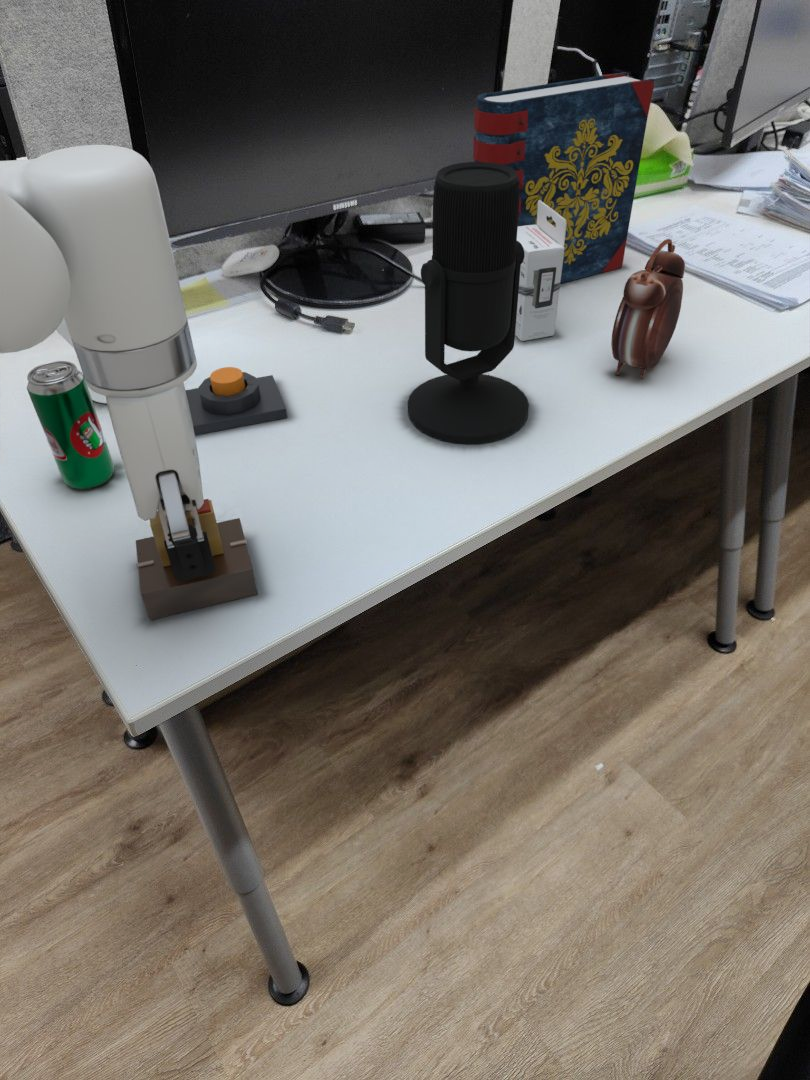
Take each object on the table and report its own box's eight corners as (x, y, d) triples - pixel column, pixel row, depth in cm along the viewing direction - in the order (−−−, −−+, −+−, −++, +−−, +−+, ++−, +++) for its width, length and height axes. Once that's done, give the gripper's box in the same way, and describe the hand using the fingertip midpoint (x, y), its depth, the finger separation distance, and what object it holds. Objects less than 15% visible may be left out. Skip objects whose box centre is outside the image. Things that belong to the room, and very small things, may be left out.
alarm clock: (636, 344, 97) (659, 223, 87) (673, 354, 95) (702, 231, 85) (601, 381, 90) (622, 254, 80) (640, 392, 88) (667, 264, 78)
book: (484, 306, 106) (495, 105, 89) (457, 288, 111) (463, 94, 94) (624, 269, 115) (658, 79, 98) (595, 253, 119) (622, 70, 103)
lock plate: (148, 620, 63) (138, 593, 61) (142, 565, 68) (133, 538, 66) (259, 594, 65) (253, 567, 63) (245, 542, 70) (240, 515, 68)
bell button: (215, 399, 84) (212, 385, 82) (210, 383, 86) (207, 369, 85) (247, 393, 84) (245, 379, 83) (242, 378, 87) (240, 364, 86)
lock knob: (163, 567, 63) (149, 523, 60) (161, 553, 64) (147, 509, 61) (223, 553, 64) (213, 510, 61) (220, 540, 65) (210, 496, 62)
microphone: (484, 369, 93) (496, 145, 76) (553, 421, 84) (583, 180, 67) (386, 399, 88) (376, 167, 71) (448, 458, 79) (453, 208, 62)
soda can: (61, 470, 79) (20, 366, 71) (111, 457, 80) (77, 354, 72) (67, 497, 75) (24, 391, 67) (119, 484, 77) (84, 377, 69)
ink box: (495, 314, 104) (502, 202, 94) (528, 309, 105) (539, 197, 95) (520, 342, 98) (531, 225, 88) (556, 336, 99) (570, 220, 89)
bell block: (188, 436, 83) (182, 412, 81) (180, 400, 89) (174, 377, 87) (287, 417, 85) (284, 394, 83) (273, 383, 91) (270, 361, 89)
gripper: (78, 307, 57) (138, 496, 69) (80, 427, 45) (152, 631, 57) (179, 292, 59) (221, 479, 71) (208, 404, 46) (253, 607, 58)
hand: (190, 545), depth 64 cm, fingers open, 6 cm apart
